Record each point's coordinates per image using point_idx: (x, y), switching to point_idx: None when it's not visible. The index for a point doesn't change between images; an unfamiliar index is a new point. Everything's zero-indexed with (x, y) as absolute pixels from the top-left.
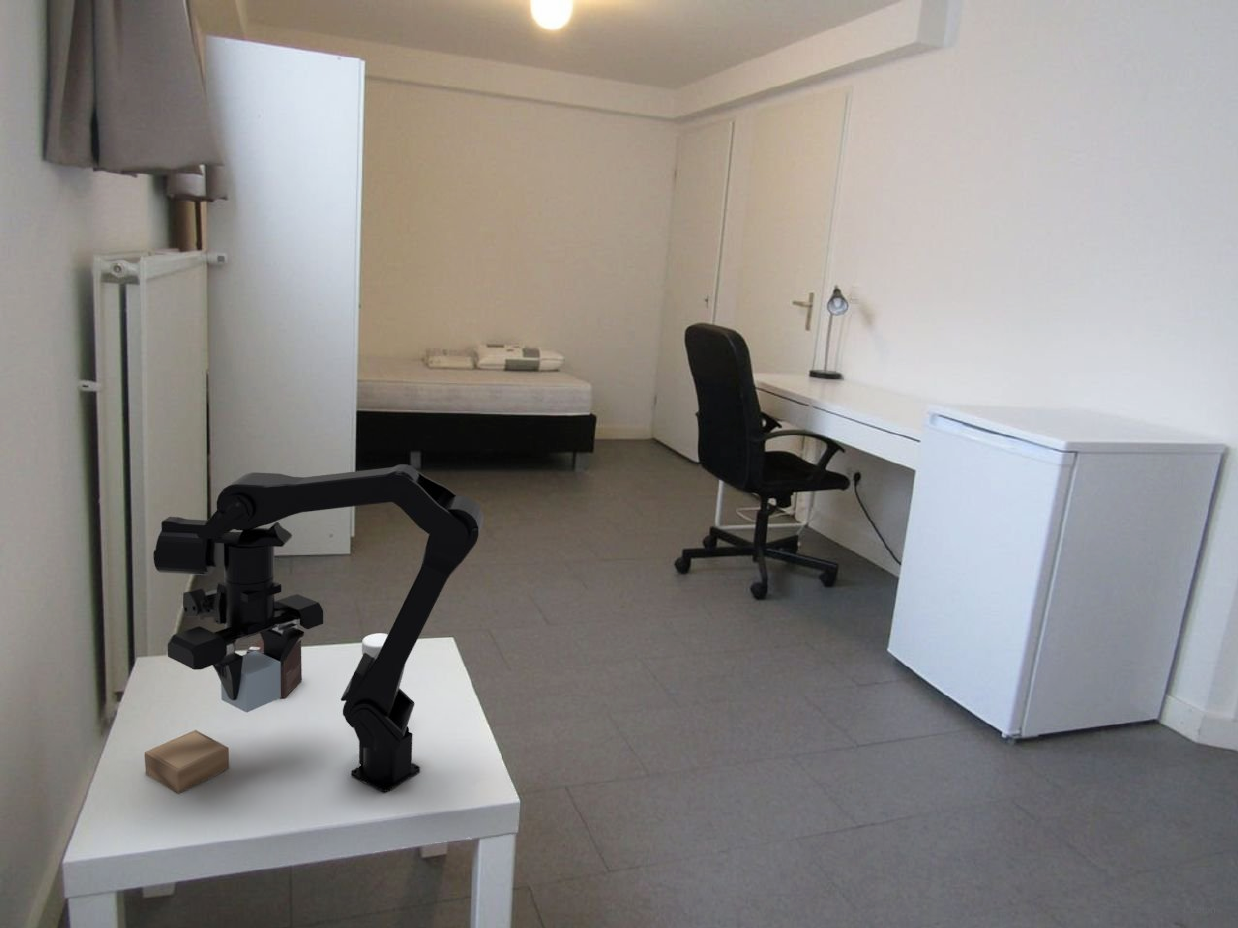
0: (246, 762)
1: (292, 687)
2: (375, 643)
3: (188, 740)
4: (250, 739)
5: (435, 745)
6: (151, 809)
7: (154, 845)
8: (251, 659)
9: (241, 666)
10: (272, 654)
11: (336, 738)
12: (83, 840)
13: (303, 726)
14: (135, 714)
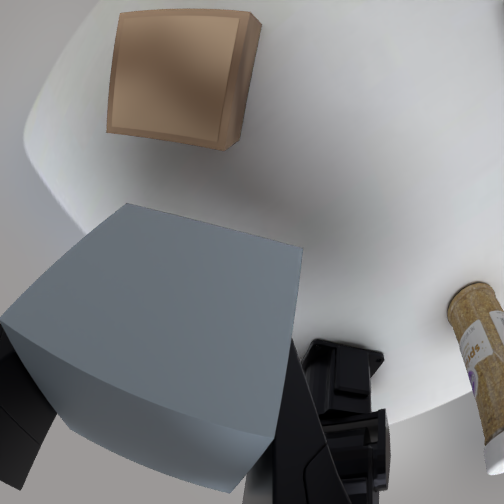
0: (275, 156)
1: None
2: (501, 468)
3: (198, 40)
4: (360, 102)
5: (418, 383)
6: (91, 125)
7: (63, 198)
8: (152, 438)
9: (34, 454)
10: (253, 493)
11: (420, 268)
12: (29, 117)
13: (448, 185)
14: None
